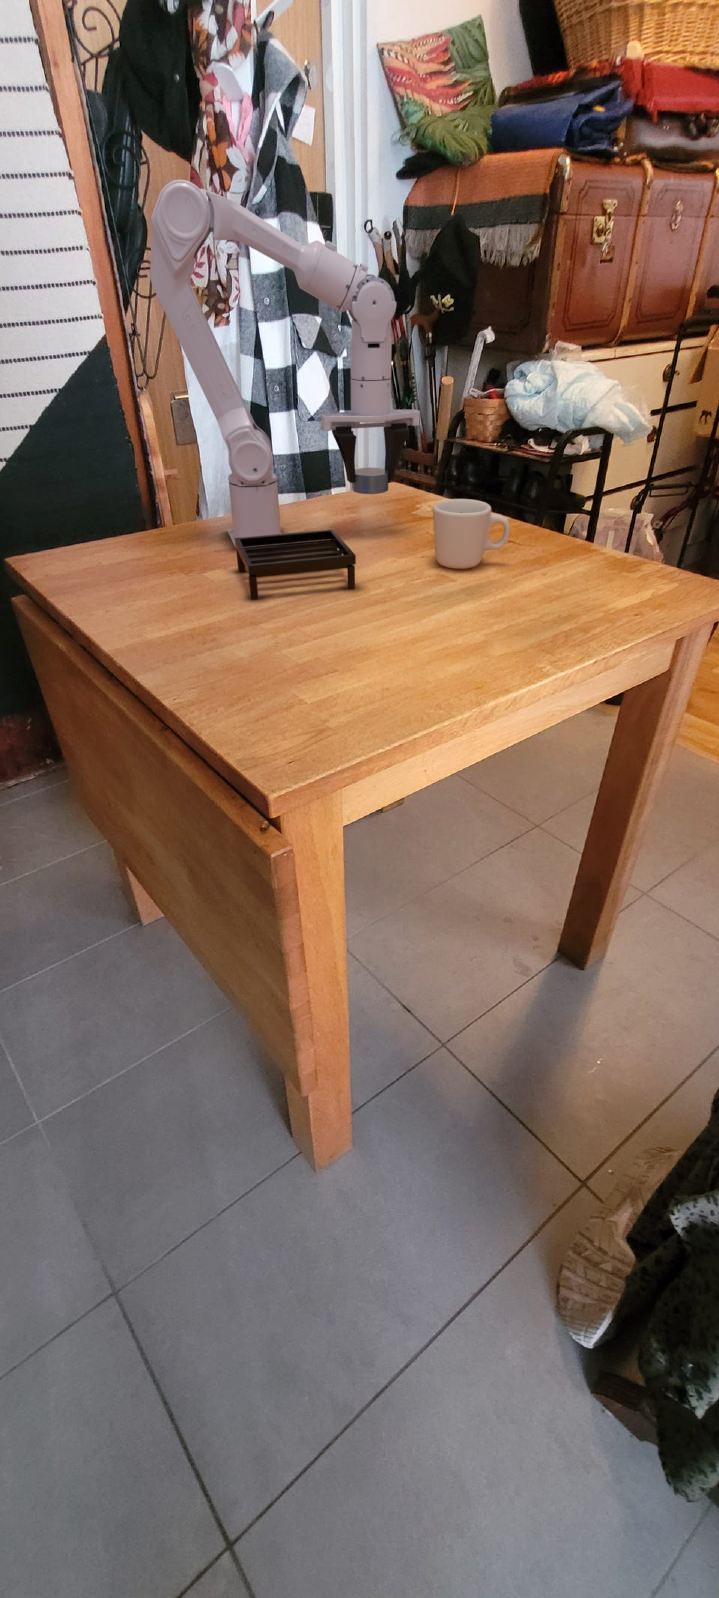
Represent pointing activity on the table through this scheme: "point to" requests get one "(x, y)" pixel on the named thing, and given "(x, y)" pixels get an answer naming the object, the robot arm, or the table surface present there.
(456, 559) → the cup
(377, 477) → the glossy blue puck
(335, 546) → the rack
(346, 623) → the table surface
